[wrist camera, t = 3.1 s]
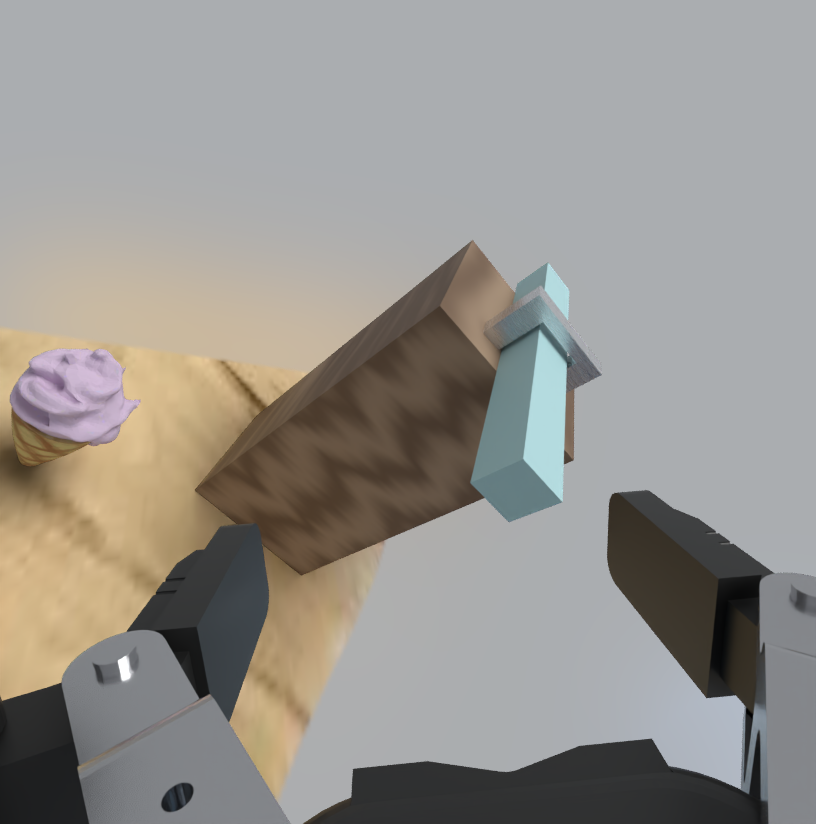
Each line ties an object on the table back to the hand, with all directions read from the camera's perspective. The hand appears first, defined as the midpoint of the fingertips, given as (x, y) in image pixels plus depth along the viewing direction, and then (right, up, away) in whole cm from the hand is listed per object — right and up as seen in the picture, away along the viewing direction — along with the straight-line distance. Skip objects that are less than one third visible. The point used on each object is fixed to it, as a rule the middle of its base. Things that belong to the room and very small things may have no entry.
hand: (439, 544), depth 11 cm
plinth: (-15, -6, +43) cm, 46 cm away
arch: (+7, +6, +22) cm, 24 cm away
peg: (+6, +6, +22) cm, 23 cm away
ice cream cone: (-30, -1, +28) cm, 41 cm away
